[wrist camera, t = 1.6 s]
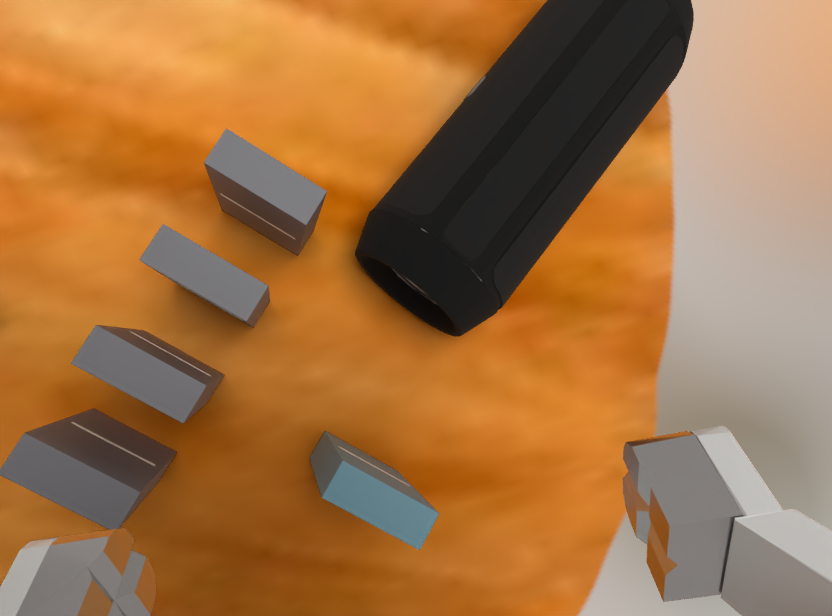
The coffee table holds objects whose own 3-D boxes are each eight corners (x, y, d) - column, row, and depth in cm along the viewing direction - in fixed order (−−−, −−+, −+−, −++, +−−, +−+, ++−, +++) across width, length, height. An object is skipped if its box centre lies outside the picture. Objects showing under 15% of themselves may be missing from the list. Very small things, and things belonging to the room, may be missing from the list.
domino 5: (382, 498, 42) (419, 550, 31) (309, 458, 41) (321, 498, 30) (397, 470, 42) (439, 513, 32) (325, 430, 41) (343, 460, 31)
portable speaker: (551, -5, 47) (624, -96, 37) (646, 85, 48) (740, 20, 39) (335, 254, 42) (354, 227, 33) (447, 346, 44) (496, 346, 34)
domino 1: (297, 256, 42) (306, 225, 31) (221, 210, 41) (203, 162, 30) (313, 230, 42) (327, 191, 31) (238, 184, 41) (226, 128, 30)
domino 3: (207, 402, 40) (182, 423, 29) (126, 358, 39) (70, 363, 28) (224, 374, 40) (206, 385, 30) (144, 330, 39) (96, 324, 29)
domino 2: (253, 327, 41) (246, 321, 30) (174, 283, 40) (138, 260, 29) (270, 300, 41) (268, 285, 30) (192, 255, 40) (163, 223, 30)
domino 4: (159, 481, 39) (115, 532, 28) (74, 437, 38) (-3, 474, 27) (177, 451, 39) (140, 491, 29) (94, 408, 38) (24, 432, 28)
